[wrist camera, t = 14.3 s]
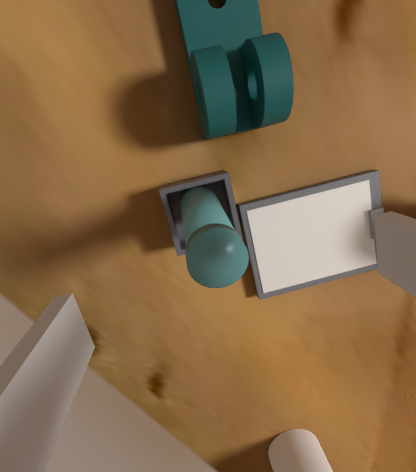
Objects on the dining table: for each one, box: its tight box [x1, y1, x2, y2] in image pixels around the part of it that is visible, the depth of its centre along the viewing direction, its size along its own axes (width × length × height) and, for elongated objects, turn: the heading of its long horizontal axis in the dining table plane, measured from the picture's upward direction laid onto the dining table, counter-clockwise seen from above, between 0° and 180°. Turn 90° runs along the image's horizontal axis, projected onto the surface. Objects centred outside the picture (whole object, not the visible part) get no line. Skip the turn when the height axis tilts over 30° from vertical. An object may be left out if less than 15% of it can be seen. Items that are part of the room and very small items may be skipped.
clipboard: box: [237, 170, 384, 300], centre depth 34 cm, size 11×15×2 cm
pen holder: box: [159, 170, 243, 256], centre depth 31 cm, size 7×7×4 cm
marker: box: [180, 185, 249, 288], centre depth 25 cm, size 4×4×14 cm
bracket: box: [175, 0, 293, 140], centre depth 25 cm, size 18×7×8 cm, turn 13°
